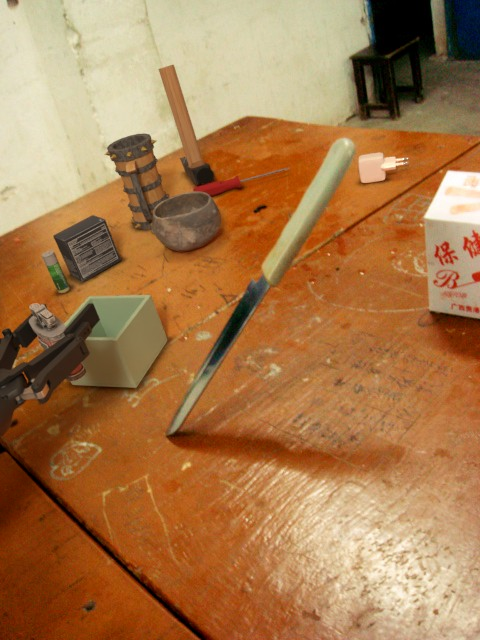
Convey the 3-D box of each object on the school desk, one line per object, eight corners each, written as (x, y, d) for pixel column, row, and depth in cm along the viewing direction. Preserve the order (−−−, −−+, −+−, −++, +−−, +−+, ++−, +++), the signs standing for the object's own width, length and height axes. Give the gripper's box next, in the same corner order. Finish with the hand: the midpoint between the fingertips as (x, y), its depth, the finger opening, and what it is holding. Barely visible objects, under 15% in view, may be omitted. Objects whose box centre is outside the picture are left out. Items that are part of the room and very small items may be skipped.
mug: (179, 203, 164) (156, 127, 153) (180, 231, 150) (154, 149, 139) (131, 215, 165) (104, 140, 154) (127, 244, 150) (97, 164, 140)
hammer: (186, 178, 185) (152, 71, 173) (202, 173, 185) (169, 66, 174) (198, 187, 166) (161, 67, 155) (216, 180, 167) (180, 61, 156)
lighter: (45, 364, 90) (15, 305, 85) (65, 351, 92) (38, 293, 87) (70, 385, 85) (40, 324, 79) (91, 371, 86) (63, 310, 81)
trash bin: (72, 385, 107) (49, 339, 102) (107, 339, 117) (88, 295, 112) (136, 387, 103) (116, 340, 97) (167, 340, 112) (151, 294, 107)
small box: (108, 254, 148) (92, 213, 143) (122, 260, 143) (106, 218, 138) (69, 275, 143) (51, 234, 138) (82, 283, 139) (64, 240, 133)
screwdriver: (292, 176, 161) (289, 163, 159) (196, 202, 162) (193, 190, 160) (289, 172, 164) (287, 159, 162) (195, 197, 165) (192, 185, 163)
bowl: (149, 254, 143) (135, 214, 137) (198, 223, 151) (187, 184, 145) (189, 266, 133) (176, 223, 128) (240, 232, 141) (229, 191, 136)
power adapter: (409, 170, 148) (407, 146, 145) (410, 178, 144) (408, 154, 141) (361, 177, 151) (358, 153, 148) (360, 185, 147) (357, 161, 144)
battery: (72, 287, 138) (55, 249, 133) (64, 294, 136) (46, 256, 131) (64, 286, 139) (47, 248, 134) (55, 293, 138) (38, 254, 133)
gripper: (-85, 445, 78) (23, 332, 95) (50, 459, 70) (141, 334, 87) (-117, 399, 74) (2, 290, 91) (21, 409, 66) (123, 287, 83)
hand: (70, 311), depth 89 cm, fingers closed on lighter, 7 cm apart
